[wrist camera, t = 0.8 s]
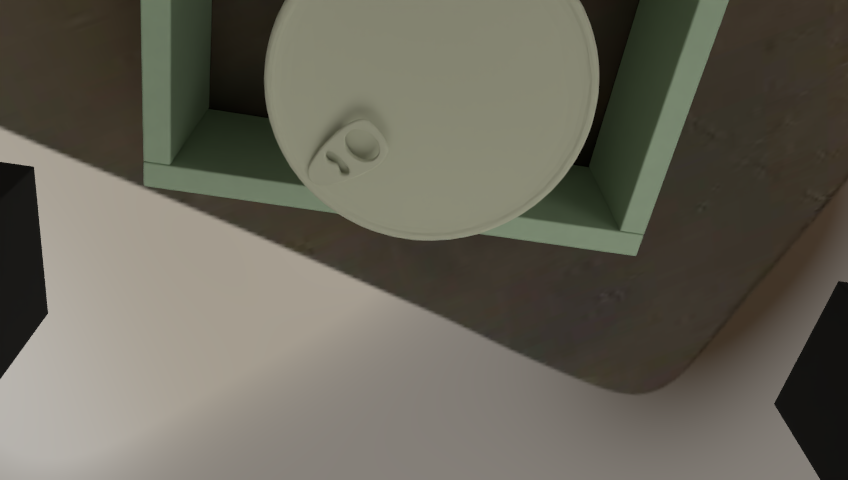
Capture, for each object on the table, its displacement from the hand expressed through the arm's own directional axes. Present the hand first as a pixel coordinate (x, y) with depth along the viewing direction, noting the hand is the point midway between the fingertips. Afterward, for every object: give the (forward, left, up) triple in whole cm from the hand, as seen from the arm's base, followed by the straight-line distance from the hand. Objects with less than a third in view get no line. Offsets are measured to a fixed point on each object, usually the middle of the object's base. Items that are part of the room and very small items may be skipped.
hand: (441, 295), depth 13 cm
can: (0, 0, -21) cm, 21 cm away
